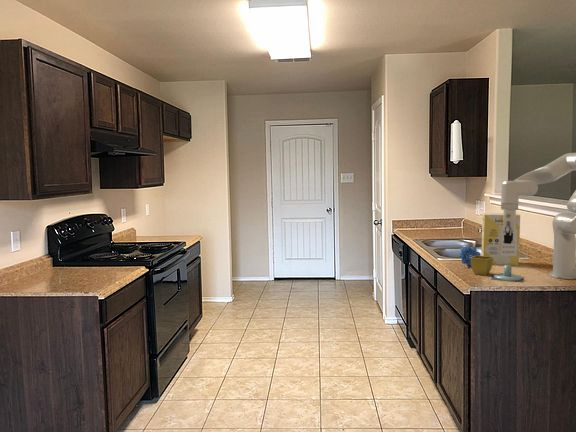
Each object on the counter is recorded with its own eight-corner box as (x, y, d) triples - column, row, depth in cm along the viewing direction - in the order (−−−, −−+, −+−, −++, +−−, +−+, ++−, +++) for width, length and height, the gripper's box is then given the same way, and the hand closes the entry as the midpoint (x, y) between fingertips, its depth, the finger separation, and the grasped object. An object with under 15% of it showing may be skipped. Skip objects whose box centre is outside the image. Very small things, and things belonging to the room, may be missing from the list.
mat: (524, 278, 233) (524, 277, 233) (523, 283, 222) (523, 282, 222) (493, 275, 240) (493, 274, 240) (490, 280, 229) (490, 279, 229)
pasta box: (515, 262, 274) (516, 213, 271) (518, 265, 264) (520, 215, 261) (481, 260, 279) (482, 213, 276) (483, 264, 269) (484, 214, 266)
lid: (521, 277, 233) (522, 264, 233) (520, 282, 223) (521, 269, 222) (495, 274, 239) (495, 262, 238) (492, 279, 229) (493, 267, 228)
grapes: (461, 268, 257) (461, 246, 256) (457, 266, 264) (458, 244, 262) (483, 268, 256) (483, 246, 255) (479, 266, 263) (479, 244, 261)
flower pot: (475, 272, 248) (475, 255, 247) (493, 274, 243) (493, 256, 242) (469, 275, 242) (470, 257, 241) (487, 277, 236) (488, 259, 235)
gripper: (517, 208, 218) (515, 245, 220) (519, 205, 234) (518, 240, 235) (499, 207, 222) (498, 244, 224) (502, 205, 237) (501, 239, 239)
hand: (508, 242), depth 229 cm, fingers open, 9 cm apart
